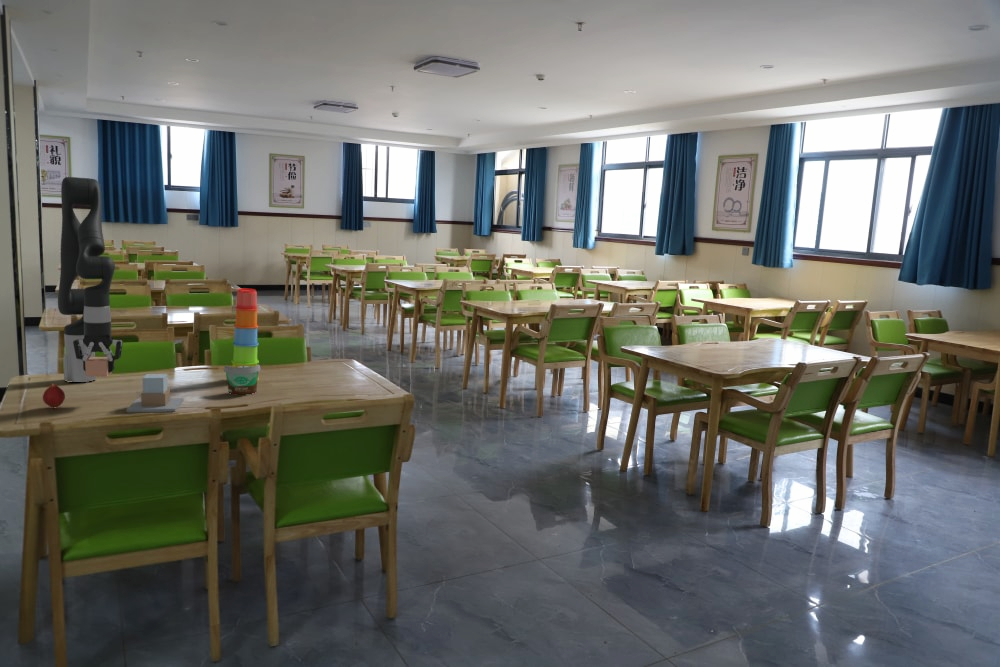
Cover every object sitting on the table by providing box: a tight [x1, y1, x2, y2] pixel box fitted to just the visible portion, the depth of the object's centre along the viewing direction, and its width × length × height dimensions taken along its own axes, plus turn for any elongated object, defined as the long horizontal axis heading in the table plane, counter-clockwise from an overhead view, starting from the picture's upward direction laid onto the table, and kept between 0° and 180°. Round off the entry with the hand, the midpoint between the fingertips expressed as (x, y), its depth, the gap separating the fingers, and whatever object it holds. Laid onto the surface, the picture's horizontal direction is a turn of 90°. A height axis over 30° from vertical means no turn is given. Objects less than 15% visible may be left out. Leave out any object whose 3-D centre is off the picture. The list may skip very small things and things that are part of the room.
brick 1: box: [85, 356, 113, 378], centre depth 233 cm, size 6×6×5 cm
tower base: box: [126, 388, 185, 413], centre depth 235 cm, size 14×14×5 cm
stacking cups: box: [230, 287, 260, 381], centre depth 275 cm, size 10×10×35 cm
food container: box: [223, 364, 261, 396], centre depth 256 cm, size 12×6×10 cm, turn 118°
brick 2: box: [142, 373, 168, 394], centre depth 234 cm, size 6×6×5 cm
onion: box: [42, 383, 66, 408], centre depth 227 cm, size 6×6×8 cm
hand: (99, 371), depth 233 cm, fingers closed on brick 1, 6 cm apart
